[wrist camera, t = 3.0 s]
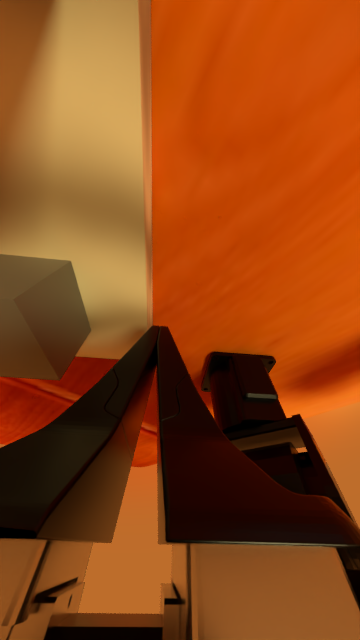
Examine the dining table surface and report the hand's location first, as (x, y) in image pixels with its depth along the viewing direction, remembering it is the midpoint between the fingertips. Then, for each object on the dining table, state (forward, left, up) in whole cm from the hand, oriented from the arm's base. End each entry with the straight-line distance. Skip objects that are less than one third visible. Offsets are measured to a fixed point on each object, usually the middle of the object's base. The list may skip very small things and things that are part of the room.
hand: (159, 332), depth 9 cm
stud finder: (0, +9, -2) cm, 9 cm away
